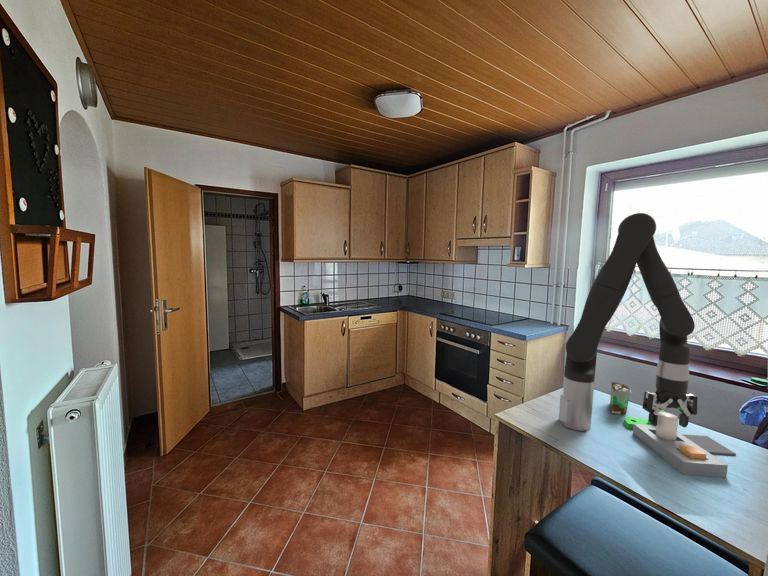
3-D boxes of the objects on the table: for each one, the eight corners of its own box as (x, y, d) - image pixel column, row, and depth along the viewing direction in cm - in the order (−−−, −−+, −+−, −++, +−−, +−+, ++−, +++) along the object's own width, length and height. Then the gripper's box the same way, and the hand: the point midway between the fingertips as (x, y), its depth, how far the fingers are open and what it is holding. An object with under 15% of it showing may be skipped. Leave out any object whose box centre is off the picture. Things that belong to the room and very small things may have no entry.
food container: (631, 420, 120) (634, 394, 119) (611, 416, 124) (613, 390, 123) (628, 408, 131) (630, 383, 130) (609, 404, 134) (611, 380, 133)
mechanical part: (661, 427, 117) (663, 405, 116) (669, 435, 111) (671, 412, 110) (621, 420, 121) (623, 399, 120) (627, 428, 115) (629, 407, 114)
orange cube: (689, 468, 93) (690, 453, 92) (677, 459, 97) (679, 444, 96) (704, 469, 92) (706, 454, 92) (692, 460, 96) (694, 446, 96)
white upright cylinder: (662, 449, 102) (665, 419, 101) (650, 440, 107) (653, 411, 106) (679, 450, 102) (682, 420, 101) (667, 441, 107) (670, 412, 106)
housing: (682, 474, 90) (684, 462, 90) (632, 433, 111) (633, 423, 111) (726, 477, 89) (727, 465, 89) (667, 435, 110) (668, 425, 110)
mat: (700, 453, 101) (700, 451, 101) (674, 435, 110) (674, 433, 110) (735, 455, 100) (736, 453, 100) (706, 437, 110) (707, 435, 109)
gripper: (656, 378, 99) (652, 430, 100) (707, 381, 98) (702, 433, 99) (639, 370, 106) (635, 418, 108) (687, 372, 105) (682, 420, 106)
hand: (667, 425), depth 103 cm, fingers open, 8 cm apart
